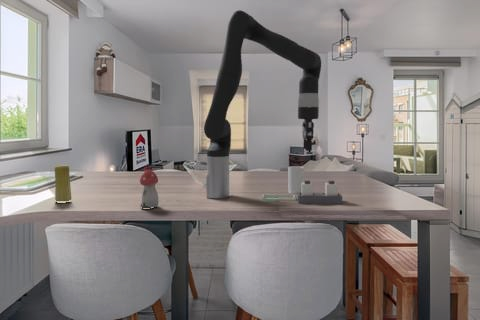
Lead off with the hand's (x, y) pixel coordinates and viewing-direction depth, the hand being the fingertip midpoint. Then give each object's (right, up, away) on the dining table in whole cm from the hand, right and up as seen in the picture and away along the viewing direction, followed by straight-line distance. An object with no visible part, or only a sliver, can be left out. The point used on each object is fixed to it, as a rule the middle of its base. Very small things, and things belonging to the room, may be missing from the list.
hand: (307, 149), depth 147 cm
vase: (-95, -21, +9) cm, 98 cm away
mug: (-1, -19, +24) cm, 31 cm away
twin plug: (+9, -20, +1) cm, 22 cm away
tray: (-10, -20, +10) cm, 24 cm away
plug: (0, -20, +2) cm, 20 cm away
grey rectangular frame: (+5, -21, +2) cm, 21 cm away
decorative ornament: (-59, -22, -2) cm, 63 cm away
